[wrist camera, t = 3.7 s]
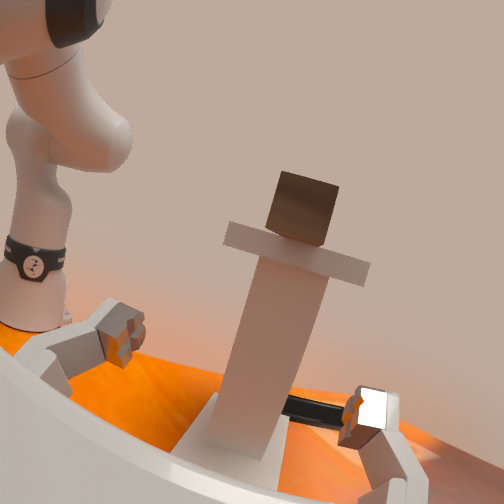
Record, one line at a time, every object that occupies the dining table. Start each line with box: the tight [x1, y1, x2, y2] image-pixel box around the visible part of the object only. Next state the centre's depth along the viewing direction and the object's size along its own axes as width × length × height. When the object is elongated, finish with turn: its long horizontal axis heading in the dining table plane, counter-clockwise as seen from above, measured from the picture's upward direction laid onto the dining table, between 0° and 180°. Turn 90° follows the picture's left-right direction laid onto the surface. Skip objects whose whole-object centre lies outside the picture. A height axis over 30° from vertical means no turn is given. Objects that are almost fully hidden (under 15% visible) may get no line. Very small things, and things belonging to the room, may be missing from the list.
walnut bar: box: [265, 171, 339, 247], centre depth 29 cm, size 26×3×3 cm, turn 168°
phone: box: [281, 395, 344, 431], centre depth 48 cm, size 8×1×15 cm
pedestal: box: [170, 222, 370, 491], centre depth 35 cm, size 18×12×26 cm, turn 168°
